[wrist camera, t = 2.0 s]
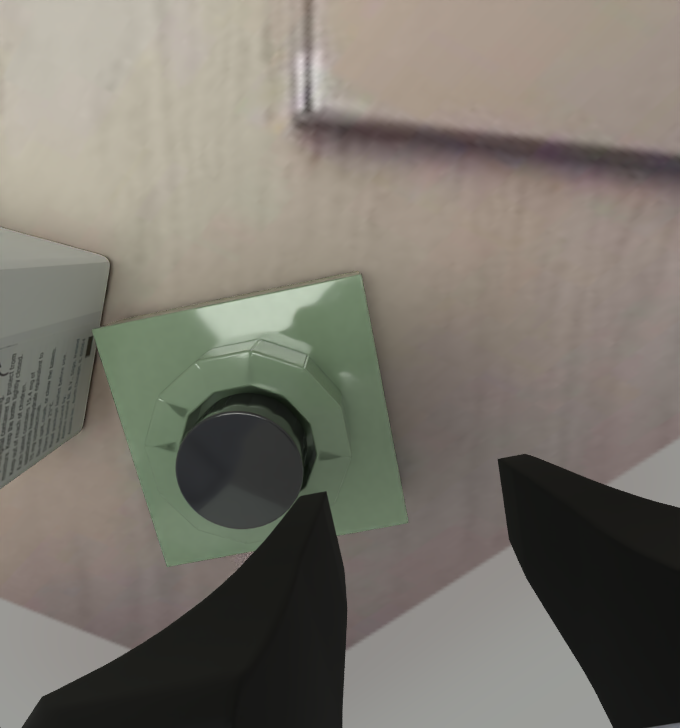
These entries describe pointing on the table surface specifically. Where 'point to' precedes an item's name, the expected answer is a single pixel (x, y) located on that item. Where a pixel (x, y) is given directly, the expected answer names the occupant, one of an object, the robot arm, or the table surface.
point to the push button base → (266, 377)
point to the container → (45, 344)
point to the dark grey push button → (242, 461)
